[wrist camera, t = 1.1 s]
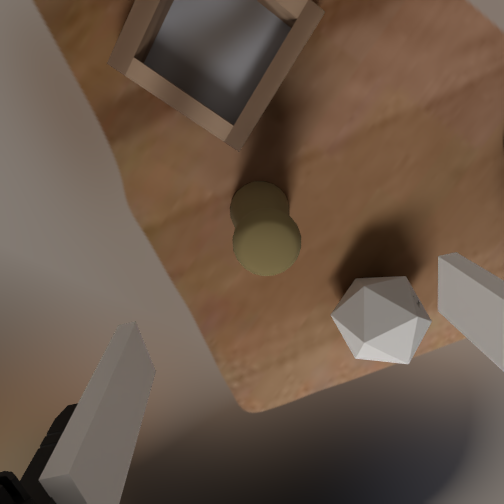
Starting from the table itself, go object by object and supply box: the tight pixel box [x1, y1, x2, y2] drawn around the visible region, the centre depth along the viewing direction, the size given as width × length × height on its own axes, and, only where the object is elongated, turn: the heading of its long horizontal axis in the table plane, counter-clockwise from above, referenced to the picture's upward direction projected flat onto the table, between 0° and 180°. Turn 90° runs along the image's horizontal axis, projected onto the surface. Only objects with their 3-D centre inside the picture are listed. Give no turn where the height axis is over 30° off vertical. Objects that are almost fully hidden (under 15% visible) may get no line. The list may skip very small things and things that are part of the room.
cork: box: [230, 181, 301, 276], centre depth 29 cm, size 6×6×11 cm
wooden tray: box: [107, 0, 325, 152], centre depth 27 cm, size 12×12×4 cm
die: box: [331, 276, 432, 364], centre depth 35 cm, size 8×9×10 cm
